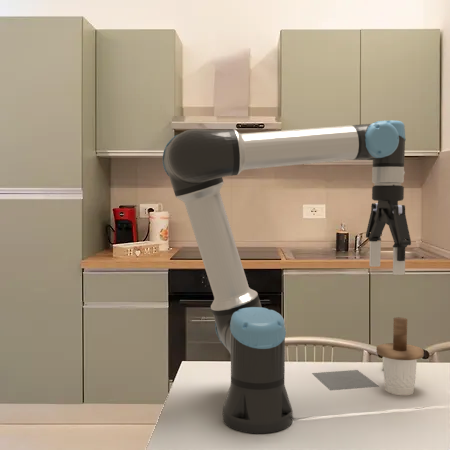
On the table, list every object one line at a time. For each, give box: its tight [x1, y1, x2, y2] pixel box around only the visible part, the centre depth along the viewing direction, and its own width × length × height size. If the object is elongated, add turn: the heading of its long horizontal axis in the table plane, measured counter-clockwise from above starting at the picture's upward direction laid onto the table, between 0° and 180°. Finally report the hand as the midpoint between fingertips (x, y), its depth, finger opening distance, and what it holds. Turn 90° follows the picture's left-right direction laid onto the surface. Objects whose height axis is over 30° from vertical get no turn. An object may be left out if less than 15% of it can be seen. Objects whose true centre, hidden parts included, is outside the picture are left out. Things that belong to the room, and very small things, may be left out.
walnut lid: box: [375, 316, 425, 360], centre depth 142 cm, size 11×11×8 cm
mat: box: [311, 369, 380, 391], centre depth 151 cm, size 13×13×1 cm
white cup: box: [382, 357, 418, 396], centre depth 143 cm, size 8×8×10 cm
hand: (386, 270), depth 145 cm, fingers open, 13 cm apart
